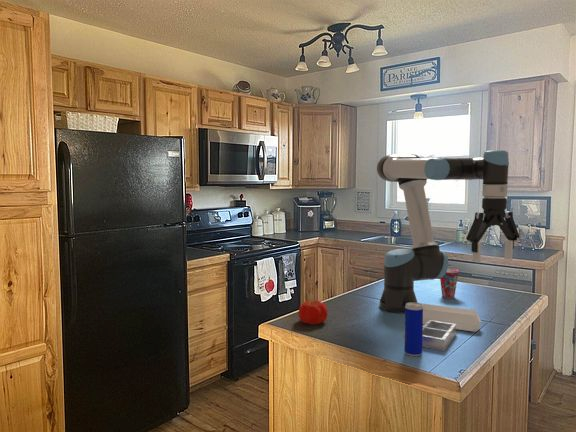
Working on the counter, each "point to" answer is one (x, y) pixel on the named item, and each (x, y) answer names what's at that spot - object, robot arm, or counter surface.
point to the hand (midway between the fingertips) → (492, 260)
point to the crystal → (452, 316)
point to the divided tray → (438, 334)
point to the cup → (449, 283)
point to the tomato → (313, 312)
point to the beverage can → (413, 329)
